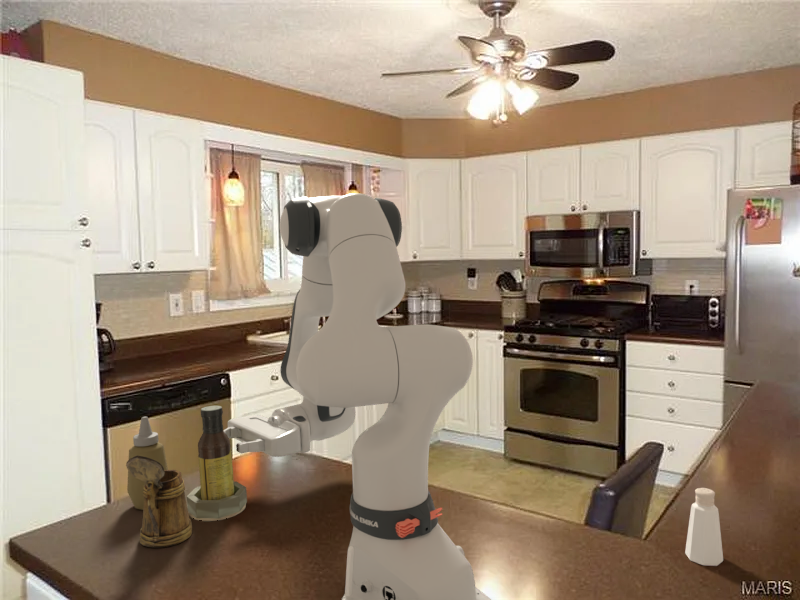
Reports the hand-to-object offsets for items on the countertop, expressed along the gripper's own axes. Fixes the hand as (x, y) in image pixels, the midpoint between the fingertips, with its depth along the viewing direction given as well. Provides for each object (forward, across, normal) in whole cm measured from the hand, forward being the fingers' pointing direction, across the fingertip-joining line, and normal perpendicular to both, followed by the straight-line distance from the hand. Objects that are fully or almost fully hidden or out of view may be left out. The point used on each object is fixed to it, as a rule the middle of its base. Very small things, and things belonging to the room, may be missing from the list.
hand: (226, 443), depth 119 cm
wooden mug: (+16, +6, +13) cm, 21 cm away
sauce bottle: (+3, 0, +12) cm, 13 cm away
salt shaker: (-45, +73, +13) cm, 87 cm away
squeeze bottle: (+12, -12, +13) cm, 21 cm away
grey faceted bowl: (+3, 0, +13) cm, 13 cm away
